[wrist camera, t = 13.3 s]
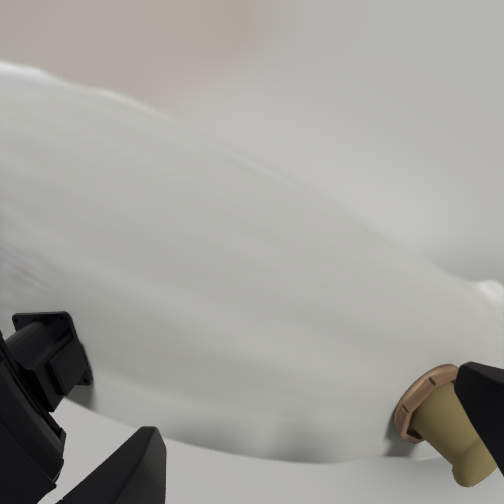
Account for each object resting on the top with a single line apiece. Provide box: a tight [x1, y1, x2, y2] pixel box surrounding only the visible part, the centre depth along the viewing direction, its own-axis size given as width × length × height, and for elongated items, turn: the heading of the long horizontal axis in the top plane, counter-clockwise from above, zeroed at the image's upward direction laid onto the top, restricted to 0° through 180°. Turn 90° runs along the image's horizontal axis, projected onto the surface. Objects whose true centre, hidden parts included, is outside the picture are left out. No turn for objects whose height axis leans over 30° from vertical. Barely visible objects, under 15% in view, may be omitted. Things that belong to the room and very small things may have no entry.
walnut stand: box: [393, 364, 459, 444], centre depth 23 cm, size 9×9×2 cm
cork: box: [409, 381, 497, 487], centre depth 17 cm, size 6×6×11 cm
